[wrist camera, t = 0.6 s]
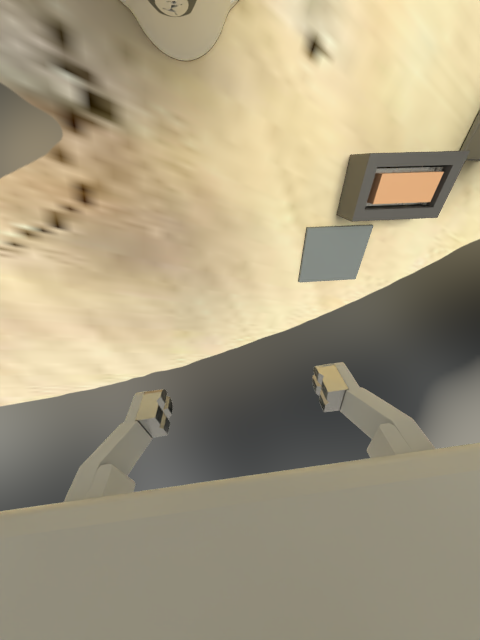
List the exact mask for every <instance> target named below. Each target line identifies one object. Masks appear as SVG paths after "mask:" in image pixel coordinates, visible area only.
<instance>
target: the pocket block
mask: <svg viewBox="0 0 480 640" xmlns="http://www.w3.org/2000/svg"><path fill="white" fill-rule="evenodd" d="M469 152H470V151H443V152H405V153H369V154H355V155H350V159H349V163H348V168H347V172H346V176H345V181H344V185H343V189H342V194H341V198H340V203H339V207H338V211H337V215H338V216H341V217H343V218H345V219H348V220H350V221H370V220H394V219H417V218H437V217H438V215H439V213H440V211H441V209H442V207H443V205H444V203H445V201H446V199H447V197H448V195H449V193H450V191H451V189H452V187H453V185H454V183H455V181H456V179H457V177H458V175H459V173H460V170H461V168H462V166H463V164H464V162H465V160H466V158H467V156H468V154H469ZM400 166H423V167H443V169H442V171H441V172H444V173H443V175H442V177H441V180H440V182H439V184H438V186H437V188H436V191H435V193H434V195H433V197H432V199H431V202H427V204H426V205H423V204H421V203H420V204H408V205H383V206H366V203H367V200H368V197H369V193H370V190H371V187H372V183H373V180H374V176H375V173H376V170H377V167H400ZM435 169H436V168H435Z"/></svg>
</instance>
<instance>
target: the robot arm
mask: <svg viewBox="0 0 480 640" xmlns="http://www.w3.org/2000/svg"><path fill="white" fill-rule="evenodd" d="M120 1H121V2H122V3H123V4H124V5H126V6H127V7H128V8H129V9H130V10H131V12H132V13H133V14H134V16H135V17H136V19H137V21H138V23H139V24H140V26H141V28H142V29H143V31H144V32H145V34H146V35H147V36H148V38H149V39H150V40H151V41H152V43H153V44H154V45H155V46H156V47H157V48H158V49H160V50H161V51H162V52H164V53H165V54H167V55H168V56H170V57H172V58H175V59H178V60H185V61H187V60H194V59H197V58H199V57H201V56H203V55H204V54H205V53H207V52H208V51H209V50H210V49H211V48H212V46H213V45H214V44H215V42H216V41H217V39H218V37H219V35H220V33H221V31H222V28H223V25H224V23H225V20H226V17H227V15H228V13H229V11H230V9H231V8H232V7H233V6H234V5H235V4H236V3H237V1H238V0H120ZM313 372H314V375H313V376H312V382H313V387H314V390H315V393H316V394H318V395H319V396H320V398H319V402H320V404H321V407H322V409H323V411H324V412H331V411H339V410H340V412H342V413H343V414H344V415H345V416H346V417H347V418H348V419H350V420H351V421H352V422H353V423H354V424H355V425H356V426H357V427H359V428H360V429H361V430H362V431H363V432H364V433H365V434H367V435H368V436H369V437H370V438H371V439H372V441H371V443H370V444H369V446H368V448H367V452H368V454H369V456H370V459H362V460H356V461H348V462H341V463H334V464H327V465H320V466H313V467H307V468H299V469H293V470H285V471H278V472H272V473H264V474H257V475H251V476H243V477H236V478H229V479H222V480H216V481H208V482H202V483H194V484H187V485H181V486H174V487H167V488H160V489H153V490H147V491H139V492H133V491H134V487H135V482H134V481H133V480H132V479H130V478H129V477H128V476H127V475H128V474H129V473H130V471H131V470H132V468H133V467H134V465H135V464H136V462H137V461H138V459H139V458H140V456H141V455H142V453H143V452H144V450H145V449H146V447H147V446H148V445H149V443H150V442H151V440H152V438H154V437H160V436H166V435H168V432H169V426H170V421H169V420H168V419H169V417H170V416H171V415H172V410H173V405H172V400H171V398H170V397H168V396H167V391H166V390H165V389H163V390H155V391H147V392H140V393H136V394H135V395H134V397H133V400H132V403H131V406H130V408H129V411H128V414H127V417H126V419H125V422H124V423H121V424H120V425H119V426H118V428H117V429H115V431H114V432H113V433H112V434H111V435H110V436H109V437H108V438H107V439H106V440H105V441H104V442H103V443H102V444H101V445H100V446H99V447H98V449H96V450H95V452H94V453H93V454H92V455H91V456H90V457H89V458H88V459H87V460H86V461H85V462H84V463H83V464H82V465H81V466H80V467H79V470H78V472H77V474H76V476H75V479H74V480H73V483H72V485H71V487H70V489H69V491H68V493H67V496H66V498H65V500H64V502H62V503H56V504H48V505H41V506H34V507H28V508H21V509H15V510H7V511H0V640H480V443H474V444H467V445H460V446H453V447H447V448H439V449H435V447H434V446H433V445H432V443H431V442H430V441H429V440H428V438H427V437H426V436H425V435H424V433H423V432H422V430H421V429H420V428H419V427H418V425H417V424H416V422H415V421H414V420H413V419H412V418H411V417H409V416H407V415H406V414H404V413H403V412H401V411H399V410H398V409H396V408H395V407H393V406H391V405H390V404H388V403H387V402H385V401H383V400H382V399H380V398H379V397H377V396H375V395H374V394H372V393H371V392H369V391H367V390H366V389H364V388H360V387H359V386H358V384H357V383H356V381H355V379H354V378H353V376H352V375H351V373H350V371H349V370H348V368H347V367H346V365H345V364H344V363H343V362H341V363H334V364H326V365H320V366H315V367H314V368H313Z"/></svg>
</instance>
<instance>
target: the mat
mask: <svg viewBox="0 0 480 640" xmlns="http://www.w3.org/2000/svg"><path fill="white" fill-rule="evenodd" d="M372 228H373V225H351V226H328V227H307V229H306V235H305V242H304V248H303V255H302V261H301V267H300V274H299V280H298V281H299V282H313V281H331V280H348V279H356V276H357V273H358V270H359V267H360V264H361V261H362V258H363V255H364V252H365V249H366V246H367V243H368V240H369V237H370V234H371V231H372Z"/></svg>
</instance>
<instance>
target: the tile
mask: <svg viewBox="0 0 480 640" xmlns="http://www.w3.org/2000/svg"><path fill="white" fill-rule="evenodd" d="M443 173H444V172H437V171H429V172H397V173H375V176H374V180H373V183H372V187H371V190H370V193H369V197H368V200H367V203H370V204H392V203H418V202H431V199H432V197H433V195H434V193H435V191H436V188H437V186H438V184H439V182H440V180H441V177H442V175H443Z"/></svg>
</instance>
